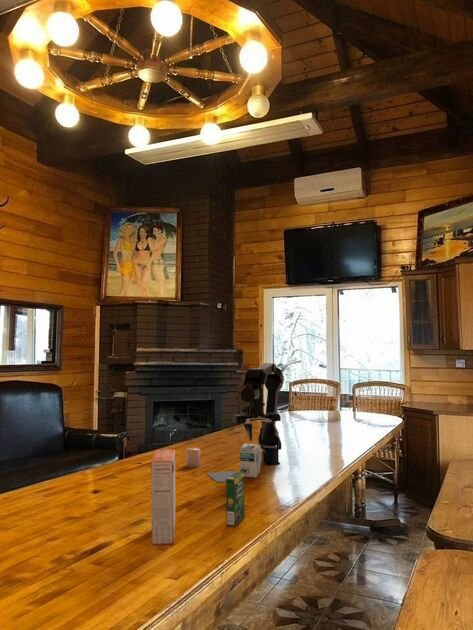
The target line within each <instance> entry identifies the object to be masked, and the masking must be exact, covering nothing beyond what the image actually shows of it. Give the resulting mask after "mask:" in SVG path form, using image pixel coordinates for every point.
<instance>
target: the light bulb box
mask: <svg viewBox="0 0 473 630" xmlns="http://www.w3.org/2000/svg"><path fill="white" fill-rule="evenodd" d="M261 451H262V450H261V445H259V443H256V444H255V443H243V444H242V445H241V446H240V448H239V472H243V473H244V478H257V477H258V475H259V474H260V472H261Z"/></svg>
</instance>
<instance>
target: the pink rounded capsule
mask: <svg viewBox="0 0 473 630" xmlns="http://www.w3.org/2000/svg"><path fill="white" fill-rule="evenodd" d="M200 466H201V448H200V447H187V448H185V467H186V468H191V469H192V468H193V469H194V468H199V467H200Z"/></svg>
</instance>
